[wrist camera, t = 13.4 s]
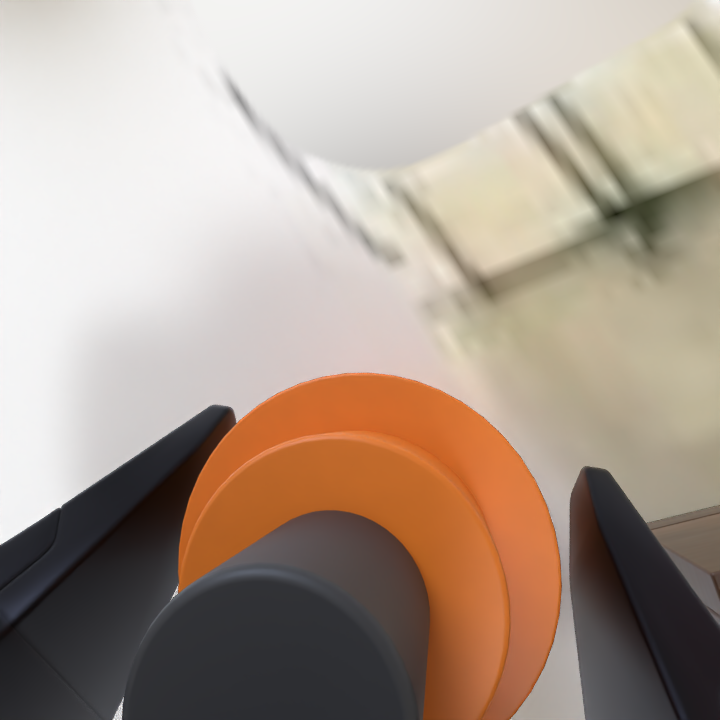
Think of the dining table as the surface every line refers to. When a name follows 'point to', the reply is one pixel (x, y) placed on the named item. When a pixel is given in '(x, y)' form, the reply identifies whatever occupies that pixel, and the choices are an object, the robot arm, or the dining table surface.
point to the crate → (695, 551)
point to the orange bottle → (355, 566)
